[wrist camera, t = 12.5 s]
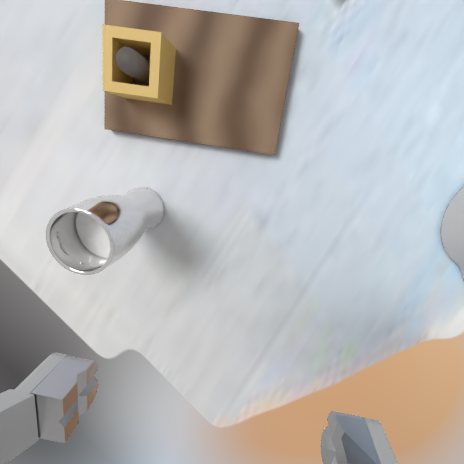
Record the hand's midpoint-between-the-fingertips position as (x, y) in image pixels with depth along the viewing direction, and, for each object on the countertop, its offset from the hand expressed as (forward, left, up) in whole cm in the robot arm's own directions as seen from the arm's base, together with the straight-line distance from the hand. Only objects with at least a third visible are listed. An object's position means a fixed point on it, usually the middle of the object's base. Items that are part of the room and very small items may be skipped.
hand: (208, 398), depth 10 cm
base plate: (+9, -15, -30) cm, 35 cm away
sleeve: (+14, -15, -29) cm, 35 cm away
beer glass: (+15, +2, -31) cm, 34 cm away
